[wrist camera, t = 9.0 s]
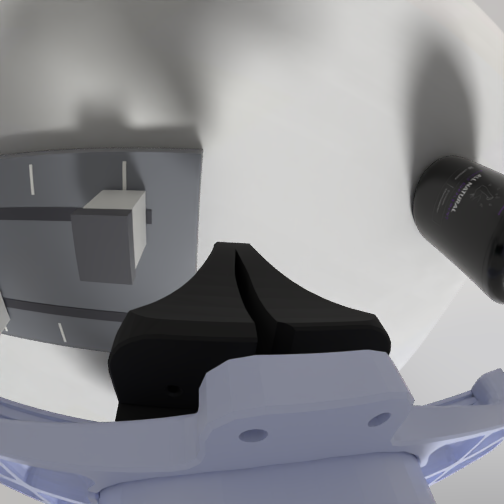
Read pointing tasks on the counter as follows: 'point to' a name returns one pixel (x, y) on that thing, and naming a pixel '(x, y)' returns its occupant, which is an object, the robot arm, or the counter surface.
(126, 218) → the fader black
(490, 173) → the supplement bottle
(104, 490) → the robot arm
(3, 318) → the fader orange
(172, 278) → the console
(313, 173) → the counter surface
